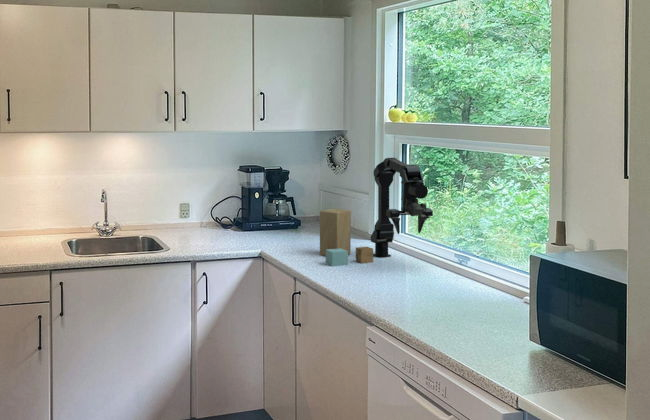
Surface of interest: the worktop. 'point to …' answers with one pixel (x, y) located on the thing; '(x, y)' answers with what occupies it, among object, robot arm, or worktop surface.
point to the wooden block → (335, 230)
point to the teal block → (336, 257)
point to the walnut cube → (364, 254)
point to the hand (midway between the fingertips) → (408, 233)
